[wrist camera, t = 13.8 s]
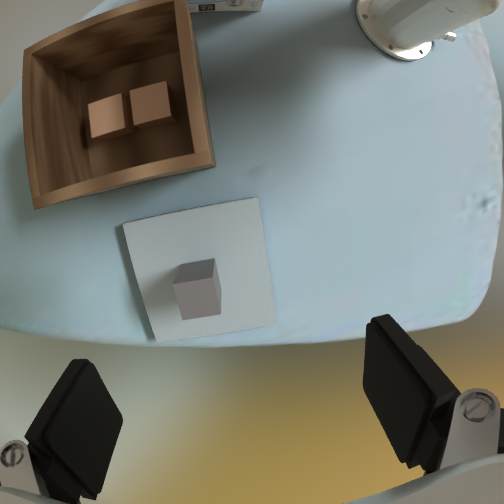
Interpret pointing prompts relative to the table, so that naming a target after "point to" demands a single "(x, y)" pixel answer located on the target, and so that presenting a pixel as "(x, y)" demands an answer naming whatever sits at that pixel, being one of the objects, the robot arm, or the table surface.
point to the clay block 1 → (111, 117)
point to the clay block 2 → (153, 105)
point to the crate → (106, 85)
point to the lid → (203, 270)
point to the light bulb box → (224, 5)
